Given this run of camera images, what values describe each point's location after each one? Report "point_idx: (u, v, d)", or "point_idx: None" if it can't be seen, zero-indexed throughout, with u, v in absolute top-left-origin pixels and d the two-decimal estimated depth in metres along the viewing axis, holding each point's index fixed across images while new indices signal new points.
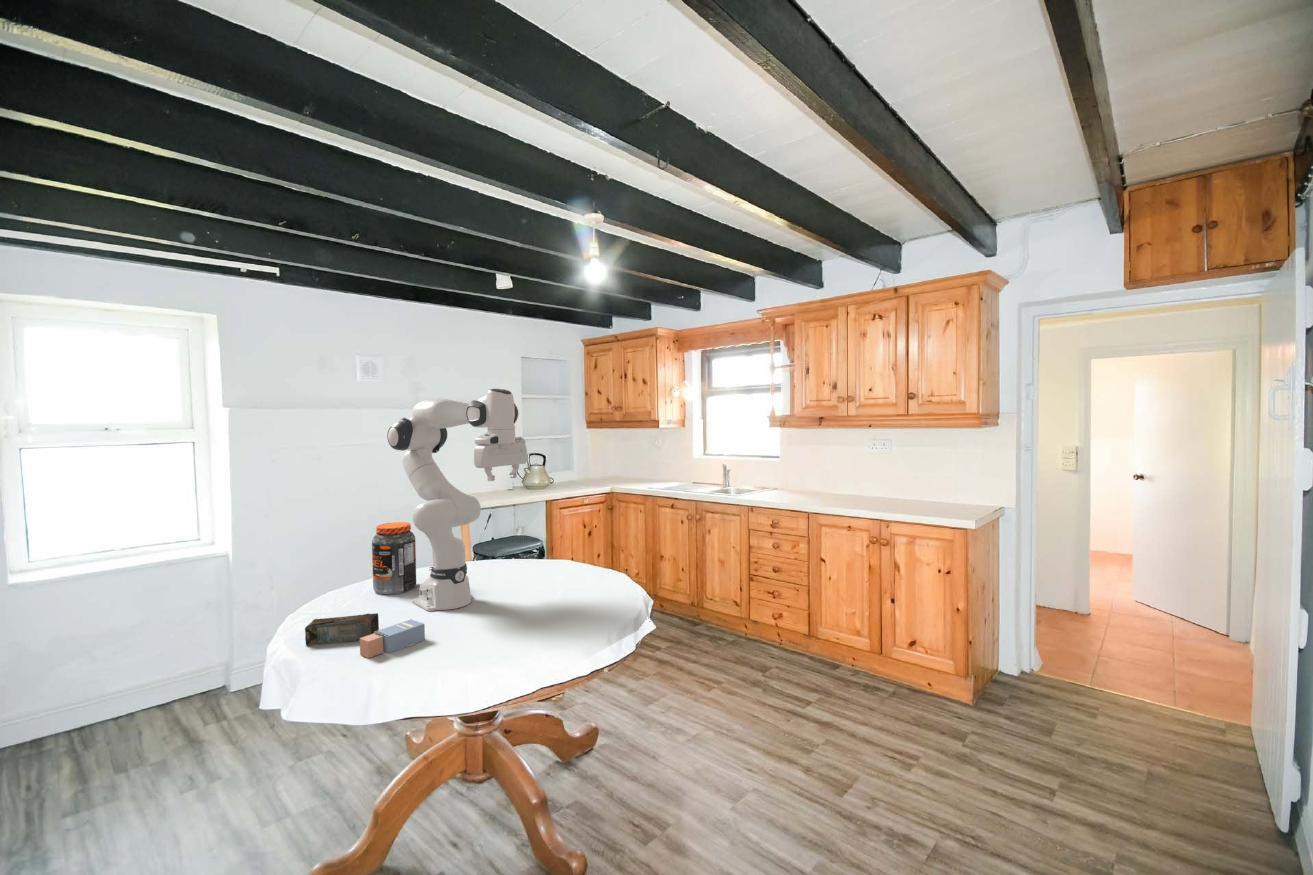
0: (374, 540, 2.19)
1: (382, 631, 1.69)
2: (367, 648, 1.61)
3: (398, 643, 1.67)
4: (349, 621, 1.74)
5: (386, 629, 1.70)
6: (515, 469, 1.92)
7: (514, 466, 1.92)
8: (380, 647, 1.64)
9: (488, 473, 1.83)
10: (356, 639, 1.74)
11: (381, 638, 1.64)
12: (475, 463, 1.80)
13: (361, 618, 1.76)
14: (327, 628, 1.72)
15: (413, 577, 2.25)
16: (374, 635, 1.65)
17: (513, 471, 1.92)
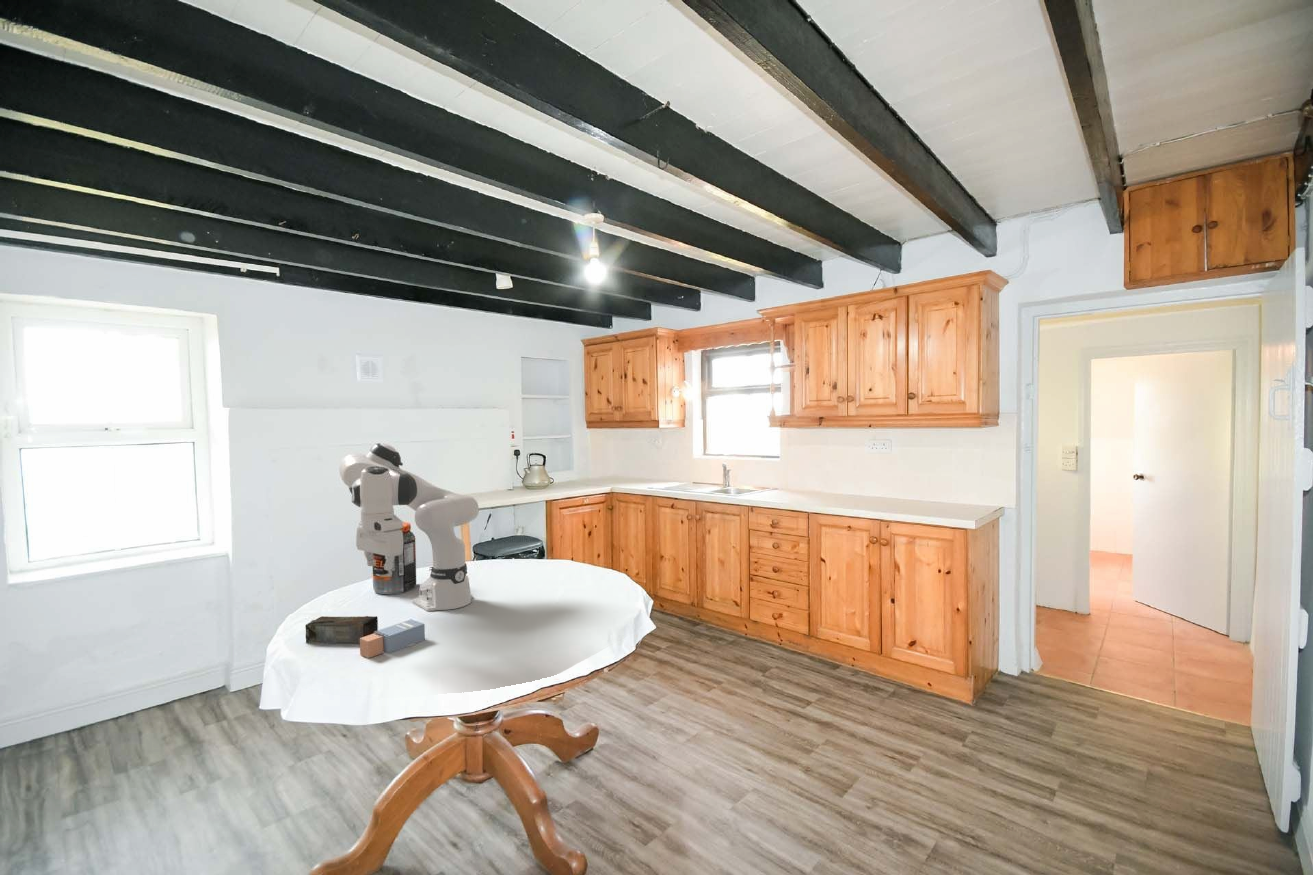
0: None
1: (382, 631, 1.69)
2: (367, 648, 1.61)
3: (398, 643, 1.67)
4: (344, 622, 1.73)
5: (386, 629, 1.70)
6: (371, 555, 1.72)
7: (370, 552, 1.72)
8: (380, 647, 1.64)
9: (391, 561, 1.65)
10: (350, 642, 1.72)
11: (381, 638, 1.64)
12: (394, 551, 1.62)
13: (357, 620, 1.74)
14: (324, 627, 1.73)
15: (413, 577, 2.25)
16: (374, 635, 1.65)
17: (370, 558, 1.72)
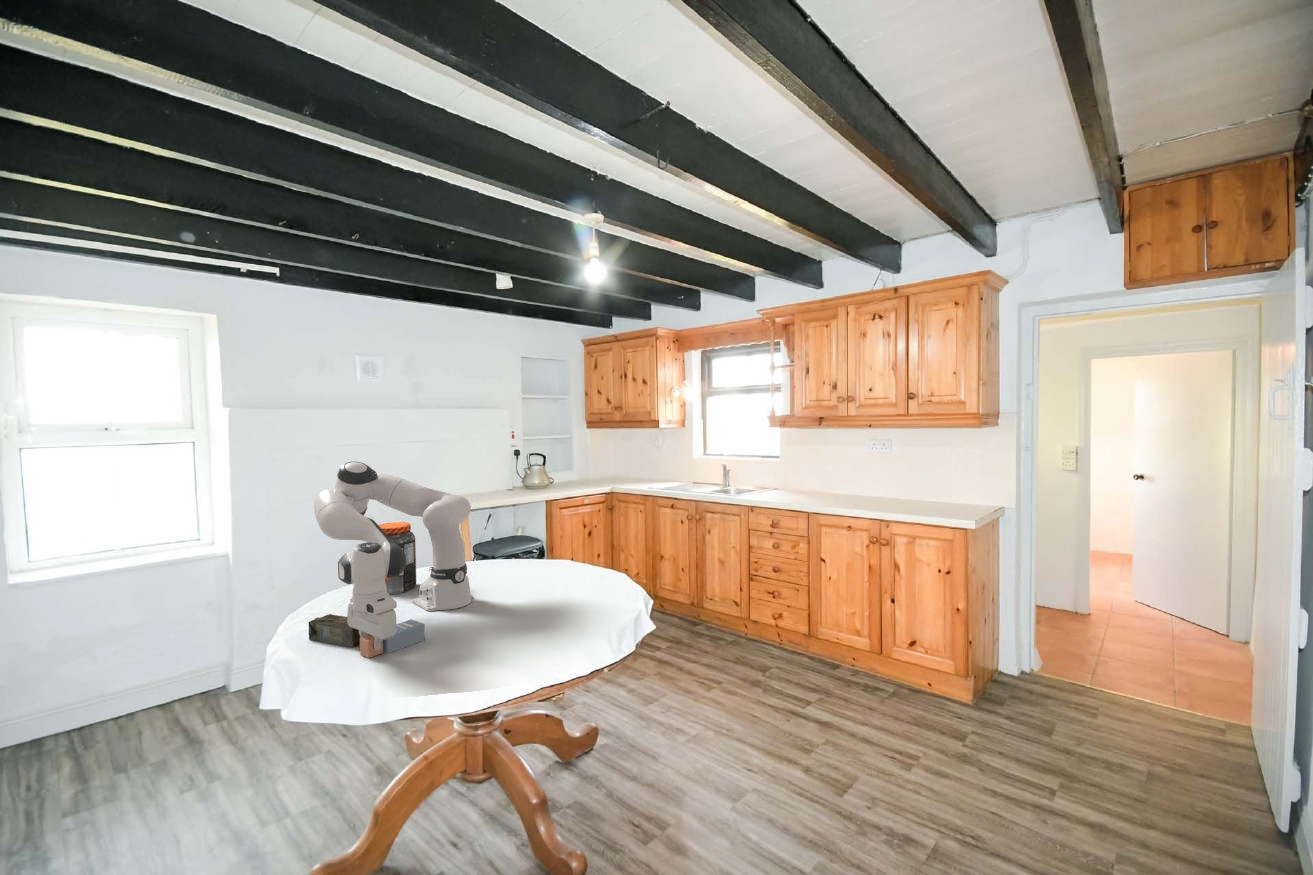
0: None
1: None
2: (367, 648, 1.61)
3: (398, 643, 1.67)
4: (339, 624, 1.72)
5: None
6: (366, 634, 1.67)
7: None
8: None
9: (380, 641, 1.62)
10: (342, 644, 1.71)
11: None
12: (386, 634, 1.57)
13: None
14: (322, 626, 1.73)
15: (413, 577, 2.25)
16: None
17: None
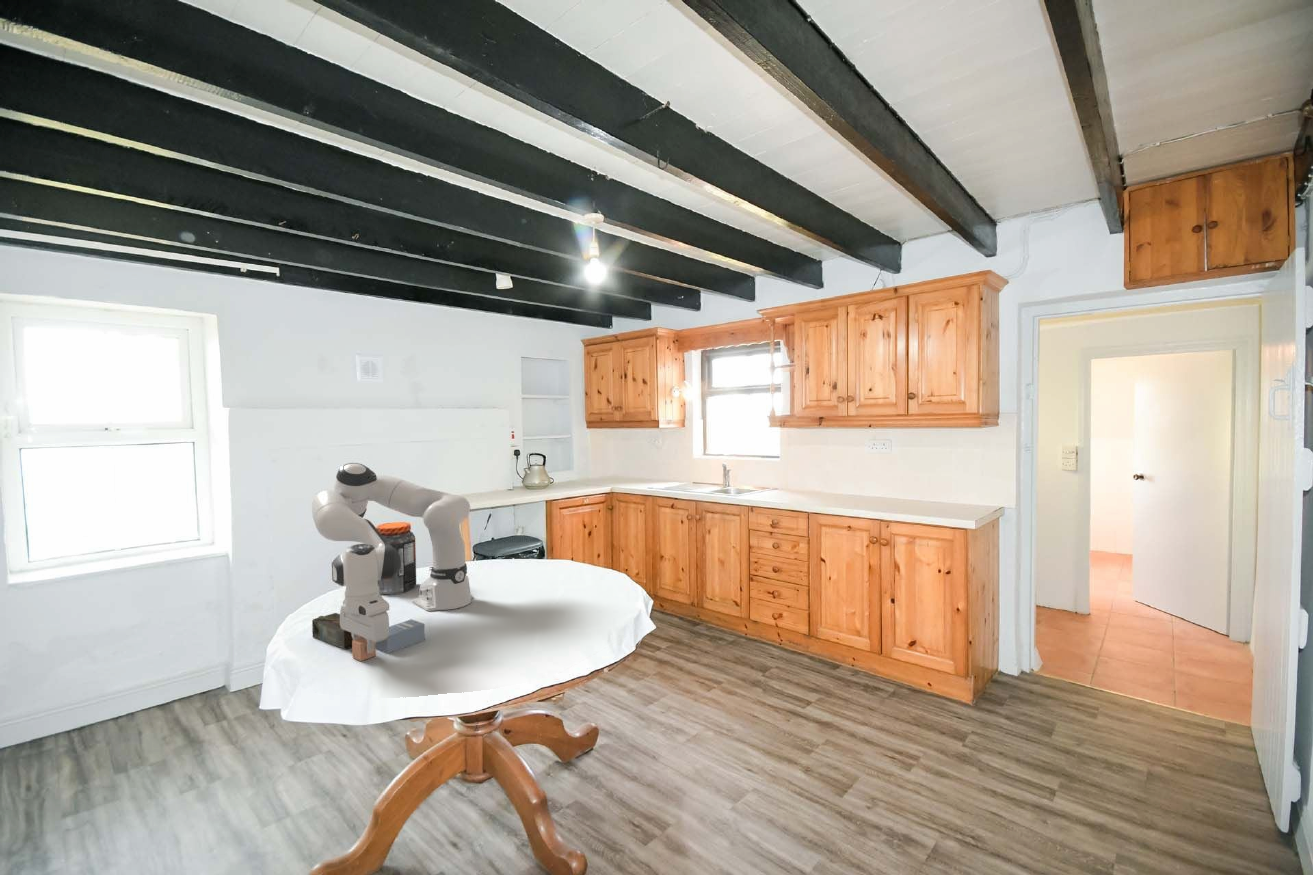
0: None
1: None
2: (359, 651, 1.60)
3: (398, 643, 1.67)
4: (335, 624, 1.72)
5: None
6: (358, 636, 1.65)
7: None
8: None
9: (372, 643, 1.60)
10: (336, 645, 1.70)
11: None
12: (379, 637, 1.56)
13: None
14: (322, 625, 1.74)
15: (413, 577, 2.25)
16: None
17: None
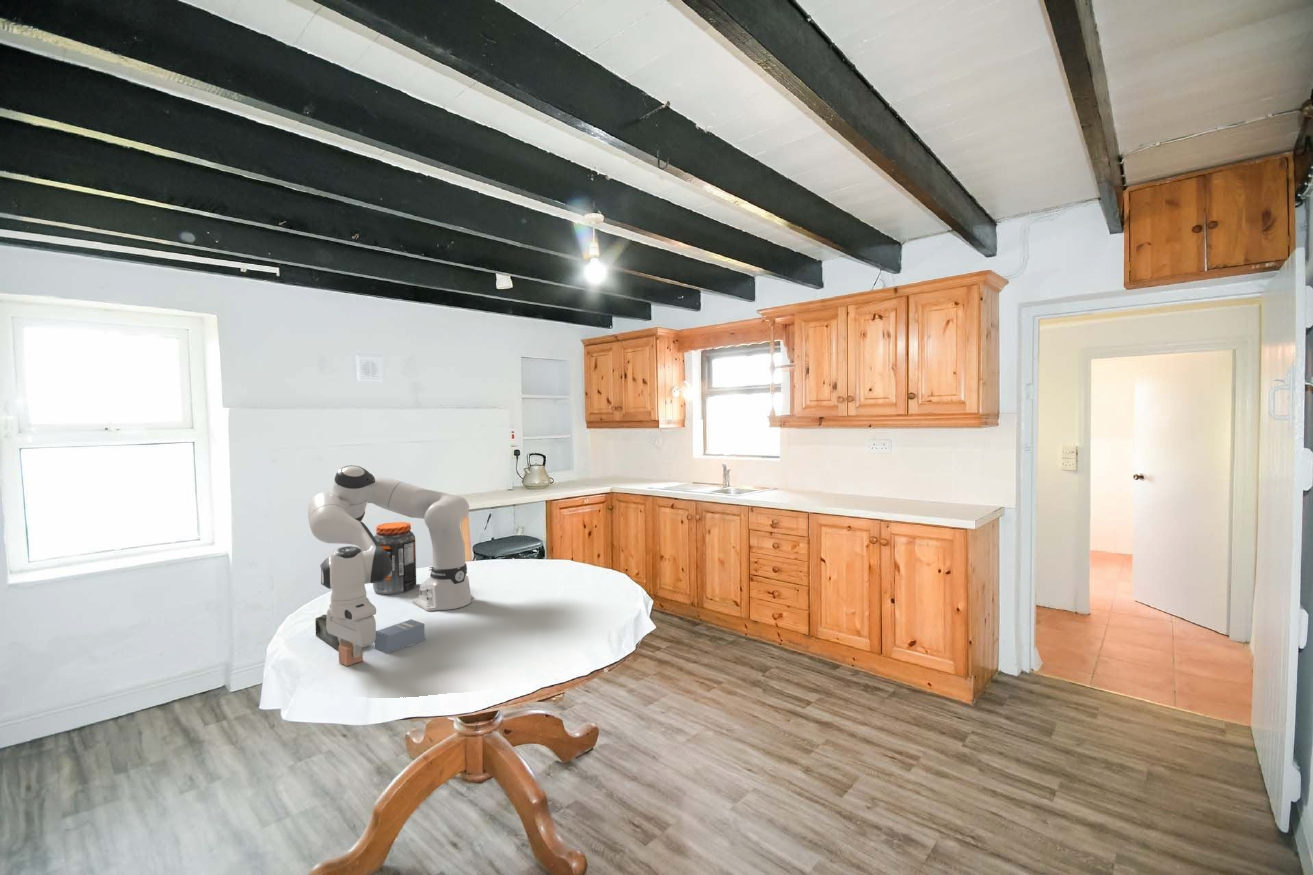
0: None
1: (382, 631, 1.69)
2: (346, 656, 1.56)
3: (398, 643, 1.67)
4: None
5: (386, 629, 1.70)
6: (345, 641, 1.62)
7: None
8: None
9: (359, 648, 1.57)
10: (332, 646, 1.70)
11: None
12: (365, 642, 1.53)
13: None
14: (322, 625, 1.75)
15: (413, 577, 2.25)
16: None
17: None
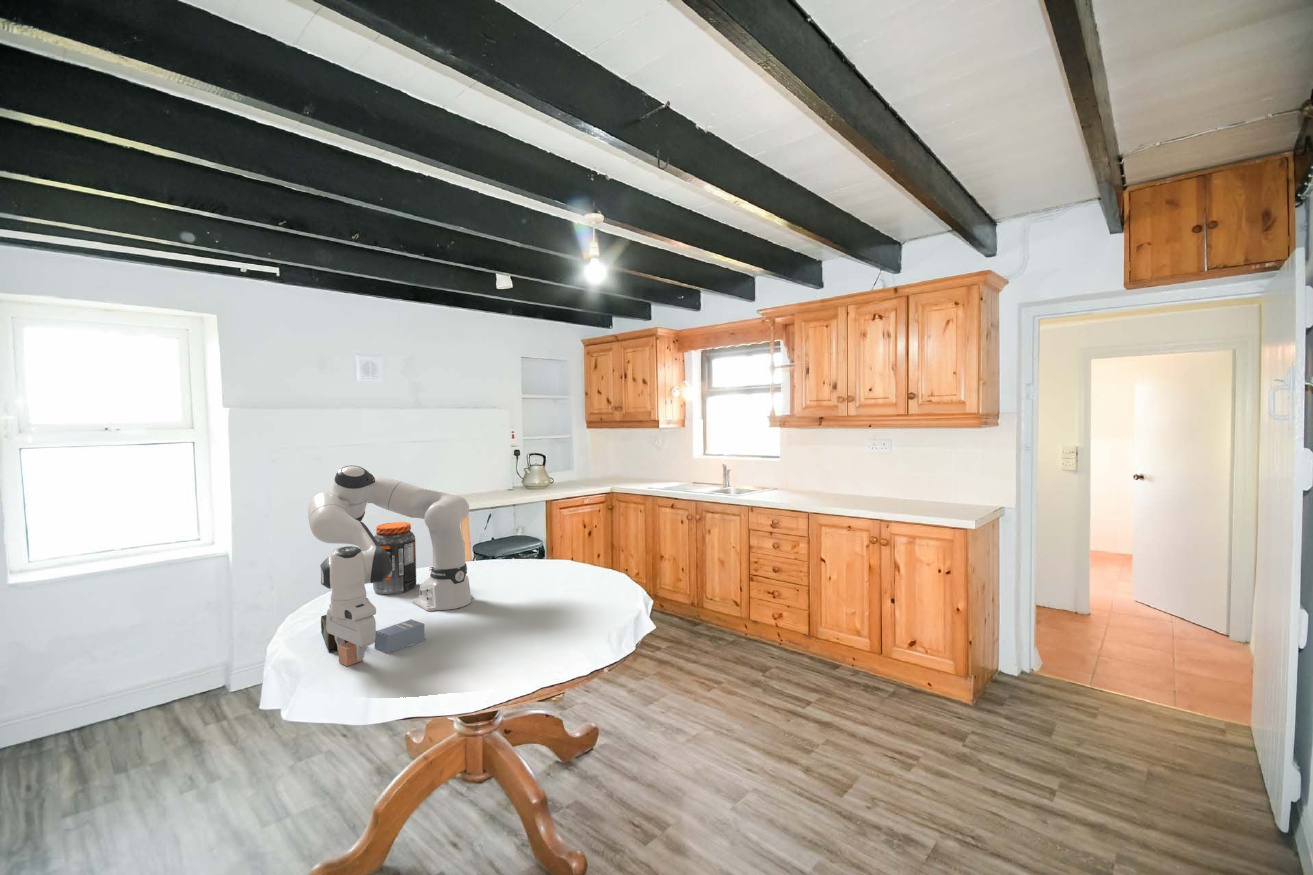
0: None
1: (382, 631, 1.69)
2: (346, 656, 1.56)
3: (398, 643, 1.67)
4: None
5: (386, 629, 1.70)
6: (342, 639, 1.63)
7: None
8: None
9: (362, 649, 1.56)
10: (326, 646, 1.69)
11: None
12: (365, 642, 1.53)
13: None
14: (323, 623, 1.76)
15: (413, 577, 2.25)
16: None
17: (340, 642, 1.62)
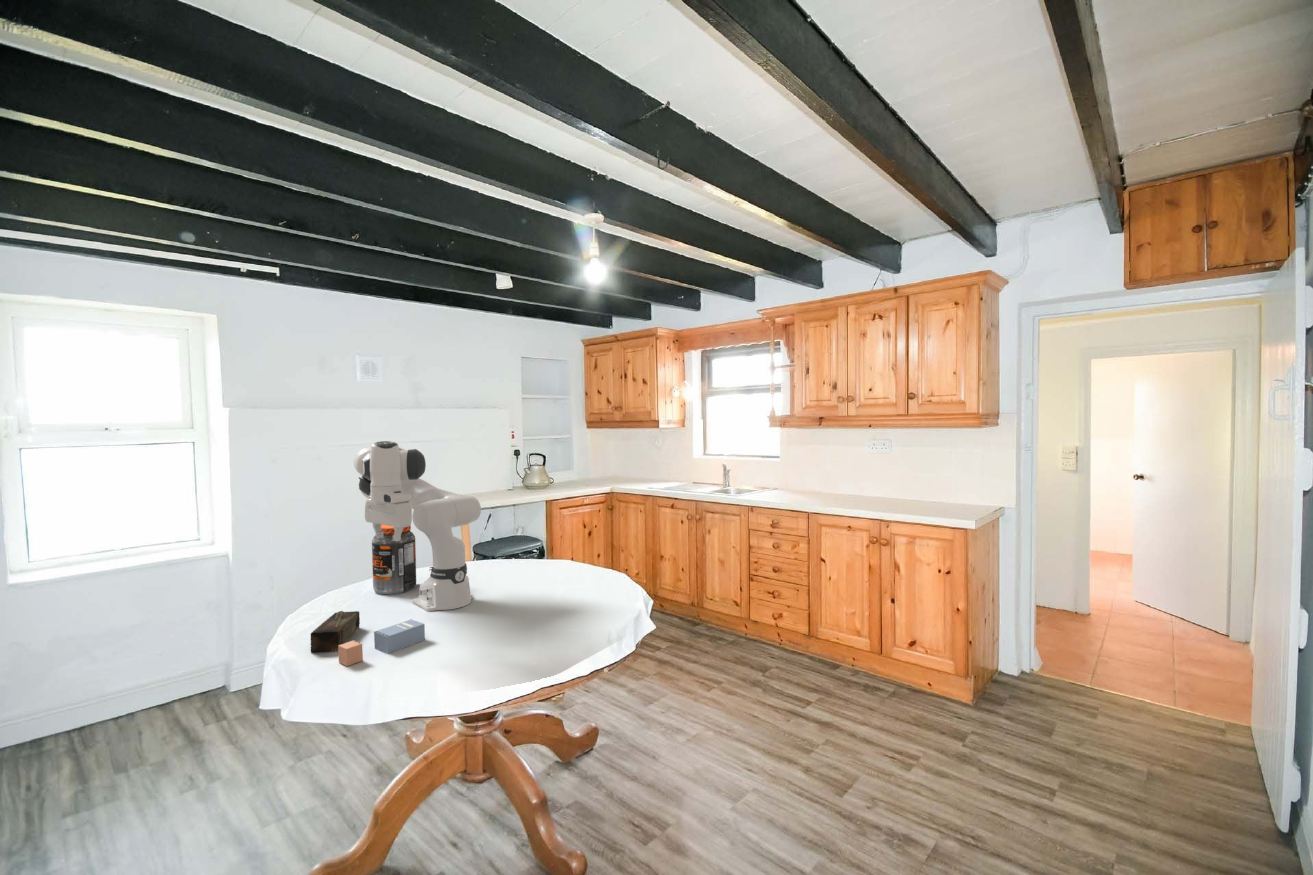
0: (374, 540, 2.19)
1: (382, 631, 1.69)
2: (346, 656, 1.56)
3: (398, 643, 1.67)
4: (322, 624, 1.72)
5: (386, 629, 1.70)
6: (379, 527, 1.78)
7: (379, 524, 1.78)
8: (360, 654, 1.59)
9: (399, 532, 1.71)
10: None
11: (360, 645, 1.59)
12: (403, 523, 1.68)
13: (323, 627, 1.69)
14: None
15: (413, 577, 2.25)
16: (353, 642, 1.60)
17: (378, 530, 1.77)
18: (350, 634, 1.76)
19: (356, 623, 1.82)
